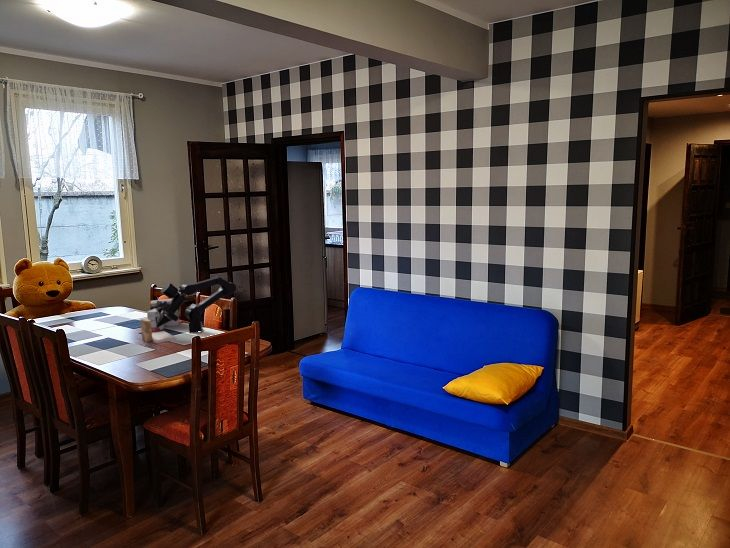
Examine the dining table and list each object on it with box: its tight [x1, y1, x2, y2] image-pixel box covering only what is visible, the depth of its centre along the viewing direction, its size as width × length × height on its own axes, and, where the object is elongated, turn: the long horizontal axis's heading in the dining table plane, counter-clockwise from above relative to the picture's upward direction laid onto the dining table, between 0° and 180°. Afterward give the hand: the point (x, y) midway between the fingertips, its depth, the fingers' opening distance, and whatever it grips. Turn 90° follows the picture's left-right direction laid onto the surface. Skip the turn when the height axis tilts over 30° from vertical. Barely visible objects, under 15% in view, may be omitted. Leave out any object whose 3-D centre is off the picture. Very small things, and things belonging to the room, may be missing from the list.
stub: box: [140, 317, 153, 343], centre depth 292 cm, size 3×7×11 cm, turn 39°
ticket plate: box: [151, 330, 176, 344], centre depth 297 cm, size 10×17×2 cm, turn 39°
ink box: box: [146, 309, 165, 333], centre depth 314 cm, size 9×5×12 cm, turn 168°
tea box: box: [149, 298, 180, 327], centre depth 325 cm, size 15×10×15 cm
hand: (156, 326), depth 295 cm, fingers closed
